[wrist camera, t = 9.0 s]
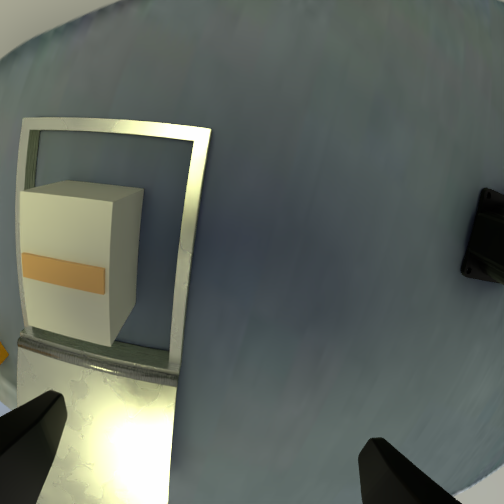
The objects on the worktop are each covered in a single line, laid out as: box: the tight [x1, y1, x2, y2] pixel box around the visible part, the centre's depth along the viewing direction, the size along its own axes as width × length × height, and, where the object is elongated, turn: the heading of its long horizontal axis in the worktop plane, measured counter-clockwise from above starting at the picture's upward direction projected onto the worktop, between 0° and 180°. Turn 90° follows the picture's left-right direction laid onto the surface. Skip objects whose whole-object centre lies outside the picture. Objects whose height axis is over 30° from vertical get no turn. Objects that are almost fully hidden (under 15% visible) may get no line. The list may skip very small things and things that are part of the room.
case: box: [15, 117, 212, 504], centre depth 15 cm, size 11×27×9 cm, turn 170°
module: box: [20, 180, 144, 347], centre depth 15 cm, size 5×7×5 cm
